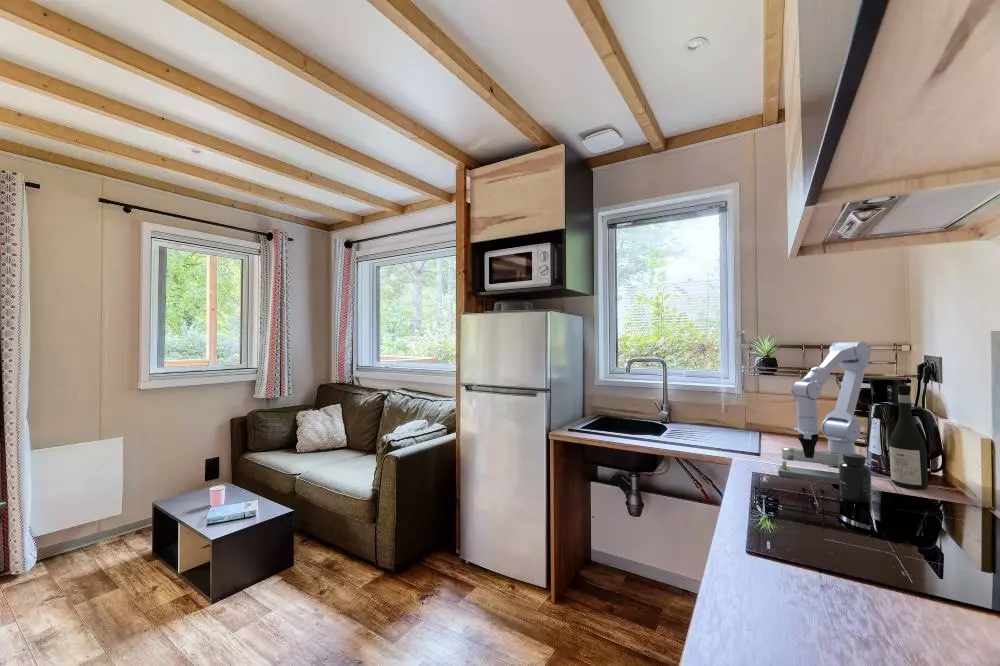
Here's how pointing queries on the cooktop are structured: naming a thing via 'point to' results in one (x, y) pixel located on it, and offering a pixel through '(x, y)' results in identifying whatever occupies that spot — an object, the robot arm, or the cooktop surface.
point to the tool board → (808, 474)
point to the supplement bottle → (855, 478)
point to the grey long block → (819, 457)
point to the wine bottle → (907, 447)
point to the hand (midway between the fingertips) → (809, 456)
